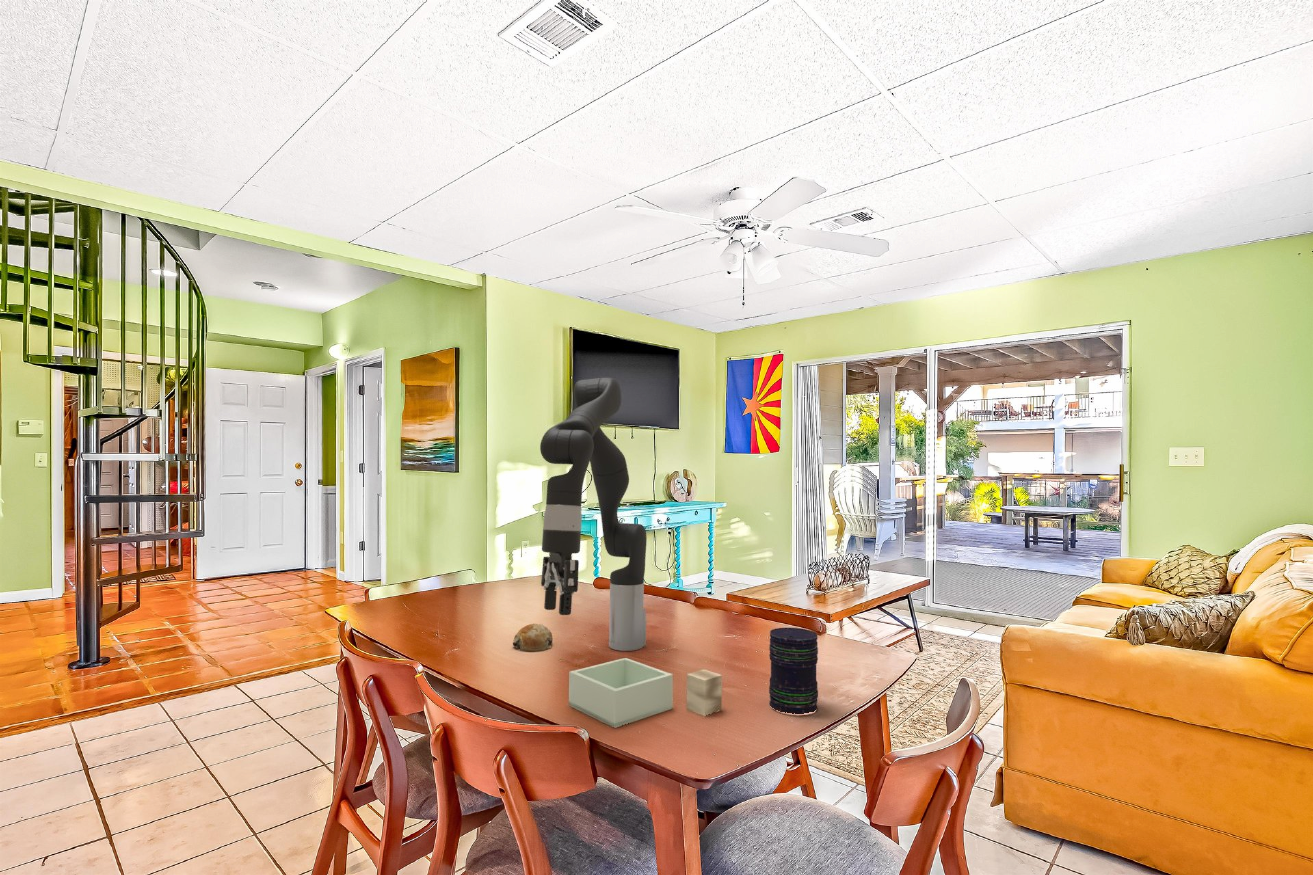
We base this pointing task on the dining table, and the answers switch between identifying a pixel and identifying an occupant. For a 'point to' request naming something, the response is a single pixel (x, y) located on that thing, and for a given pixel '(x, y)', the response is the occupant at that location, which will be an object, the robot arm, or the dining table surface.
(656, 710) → the bin
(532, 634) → the bread roll
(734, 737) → the dining table surface
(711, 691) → the block
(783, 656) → the storage jar
